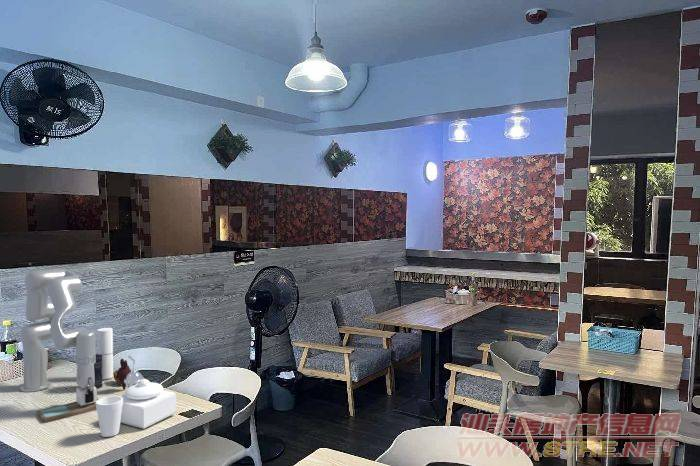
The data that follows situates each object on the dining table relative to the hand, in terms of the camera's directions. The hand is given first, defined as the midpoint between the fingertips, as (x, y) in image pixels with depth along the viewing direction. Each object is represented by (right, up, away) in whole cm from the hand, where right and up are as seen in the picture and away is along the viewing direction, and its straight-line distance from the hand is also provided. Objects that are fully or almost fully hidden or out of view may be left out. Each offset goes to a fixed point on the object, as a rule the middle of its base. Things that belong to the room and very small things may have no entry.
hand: (86, 399), depth 213 cm
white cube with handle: (0, -1, 0) cm, 1 cm away
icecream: (+7, -3, +21) cm, 22 cm away
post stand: (-4, -4, -4) cm, 7 cm away
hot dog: (0, -3, +32) cm, 32 cm away
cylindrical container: (-12, -2, +39) cm, 41 cm away
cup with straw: (+18, -4, +7) cm, 20 cm away
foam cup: (+22, -5, -24) cm, 34 cm away
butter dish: (+29, -5, -8) cm, 31 cm away
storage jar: (-11, -3, +25) cm, 27 cm away
